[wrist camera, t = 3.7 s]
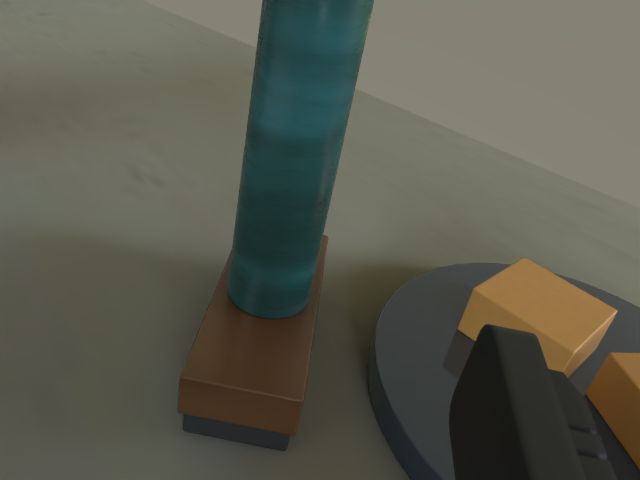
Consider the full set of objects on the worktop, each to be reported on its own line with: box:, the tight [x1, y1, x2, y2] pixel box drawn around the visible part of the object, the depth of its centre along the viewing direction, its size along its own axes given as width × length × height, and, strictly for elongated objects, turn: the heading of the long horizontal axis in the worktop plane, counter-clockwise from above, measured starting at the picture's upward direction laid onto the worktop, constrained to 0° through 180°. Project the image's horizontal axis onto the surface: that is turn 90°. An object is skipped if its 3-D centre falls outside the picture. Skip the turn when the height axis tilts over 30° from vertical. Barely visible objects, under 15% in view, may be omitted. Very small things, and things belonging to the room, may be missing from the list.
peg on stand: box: [178, 0, 374, 451], centre depth 17 cm, size 9×4×15 cm, turn 175°
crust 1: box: [458, 257, 617, 378], centre depth 22 cm, size 4×4×2 cm
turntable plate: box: [367, 263, 640, 480], centre depth 21 cm, size 15×15×1 cm
